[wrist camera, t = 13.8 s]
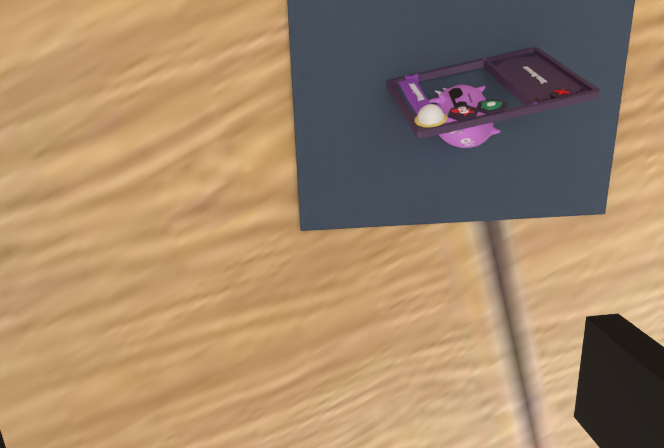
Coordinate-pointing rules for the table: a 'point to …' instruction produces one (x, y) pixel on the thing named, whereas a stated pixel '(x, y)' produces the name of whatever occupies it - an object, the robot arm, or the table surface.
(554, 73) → the game card
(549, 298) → the table surface
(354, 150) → the mat
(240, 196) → the table surface
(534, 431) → the table surface
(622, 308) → the table surface
